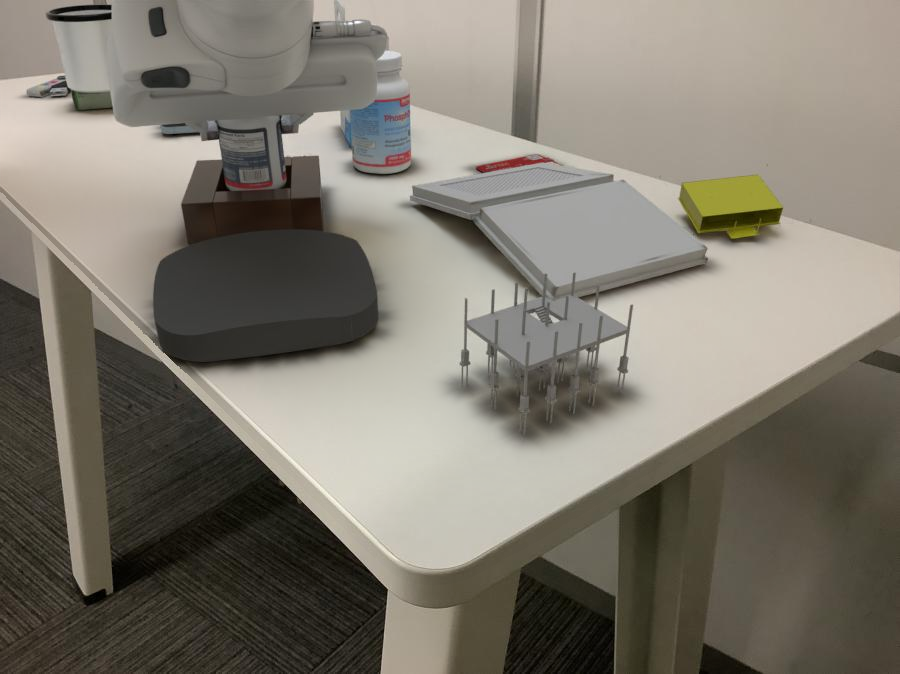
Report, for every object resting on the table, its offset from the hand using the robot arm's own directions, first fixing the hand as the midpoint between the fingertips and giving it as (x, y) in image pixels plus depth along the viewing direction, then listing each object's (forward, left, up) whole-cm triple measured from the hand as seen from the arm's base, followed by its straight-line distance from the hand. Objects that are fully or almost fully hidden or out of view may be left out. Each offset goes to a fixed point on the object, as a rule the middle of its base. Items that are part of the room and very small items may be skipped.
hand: (248, 129), depth 69 cm
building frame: (+18, -31, -8) cm, 37 cm away
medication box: (-20, +44, -7) cm, 48 cm away
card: (+27, +6, -7) cm, 29 cm away
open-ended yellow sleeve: (+41, -9, -5) cm, 42 cm away
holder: (0, -1, -8) cm, 8 cm away
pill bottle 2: (+12, +11, -8) cm, 18 cm away
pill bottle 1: (0, -1, -5) cm, 5 cm away
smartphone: (-9, +33, -8) cm, 35 cm away
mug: (-20, +40, -5) cm, 45 cm away
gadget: (+25, -8, -8) cm, 27 cm away
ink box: (+11, +22, -8) cm, 26 cm away
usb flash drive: (-31, +50, -6) cm, 59 cm away
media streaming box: (+2, -18, -8) cm, 20 cm away
